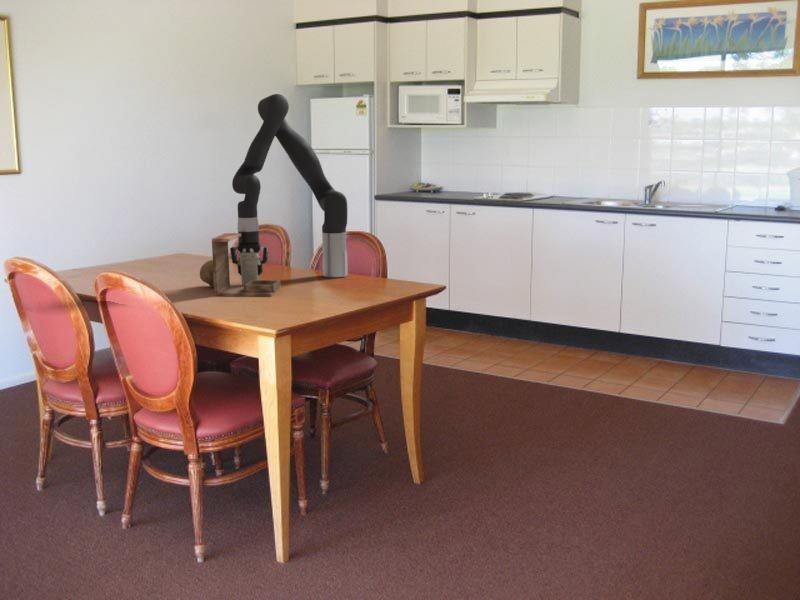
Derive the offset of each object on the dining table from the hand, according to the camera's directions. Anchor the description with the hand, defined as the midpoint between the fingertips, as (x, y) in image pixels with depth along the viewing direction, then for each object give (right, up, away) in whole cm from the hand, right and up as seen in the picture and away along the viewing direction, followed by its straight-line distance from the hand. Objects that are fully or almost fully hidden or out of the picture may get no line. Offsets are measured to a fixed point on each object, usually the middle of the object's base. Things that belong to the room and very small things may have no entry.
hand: (250, 274), depth 327 cm
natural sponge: (-13, -5, -2) cm, 14 cm away
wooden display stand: (+2, -7, -13) cm, 15 cm away
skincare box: (0, -4, +1) cm, 4 cm away
